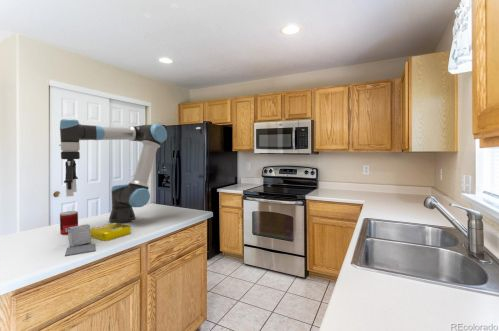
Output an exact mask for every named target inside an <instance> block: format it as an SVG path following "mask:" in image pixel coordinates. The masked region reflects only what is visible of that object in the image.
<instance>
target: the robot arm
mask: <svg viewBox="0 0 499 331" xmlns="http://www.w3.org/2000/svg"><path fill="white" fill-rule="evenodd" d="M59 133H60V137H59V138H60V144H59V145H58V146H59V147H60V151H61V152H60V159H61V160H66V161H65V180H64V181H63V183H65V193H66V194H65V196H66V197H67V198H68V197H74V193H77V180H78V178H79V177H78V176H77V163H76V160H79V159H80V158H81V155H80V147H81V146H80V141H107V140H110V141H112V140H114V141H118V140H119V141H120V140H122V141H123V140H124V141H125V140H128V141H130V142H141V143H142V148H141V151H140V155H139V158H138V161H137V162H138V163H137V166H136V168H135V172H134V175H133V178H132V181H129V182H128V183H126V184H119V185H118V184H116V185H113V186H112V187H111V211H110V214H109V218H108V222H109V224H111V223H120V224H124V223H130V222H134V221H135V220H136V214H135V211H134V209H133V208H142V207H144V206H146V205H147V204H148V203H149V201H150V198H151V194H150V191H149V188H150V187H149V185H148V182H149V178H150V176H151V175H150V174H151V172H152V168H153V164H154V161H155V157H156V154H157V151H158V149H159V148H160V147H161V146H162V143H163V142H165V141H166V140H167V138H168V132H167V130H166V128H165V127H164V125H162V124H159V123H153V124H141V125H132V126H131V125H130V126H128V127H113V126H110V127H109V126H108V127H107V126H99V125H91V124H82V123H81V124H80V122H79V120H78V119H72V118H62V119H60V122H59Z"/></svg>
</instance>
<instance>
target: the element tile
mask: <svg viewBox="0 0 499 331" xmlns="http://www.w3.org/2000/svg"><path fill="white" fill-rule="evenodd" d="M131 233H132V232H131V226H130V225H128V224H124V223H107V224H103V225H99V226H94V227H90V234H91V239H96V240H100V241H103V242H107V241H111V240H115V239H117V238H122V237H124V236H127V235H131Z"/></svg>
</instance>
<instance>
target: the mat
mask: <svg viewBox="0 0 499 331" xmlns="http://www.w3.org/2000/svg"><path fill="white" fill-rule="evenodd" d="M93 252H96V243H87V244H82V245H78V246H74V247H71V246H69V247H66V250H65V254H64V257H71V256H75V255H81V254H87V253H93Z"/></svg>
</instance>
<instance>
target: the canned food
mask: <svg viewBox="0 0 499 331" xmlns="http://www.w3.org/2000/svg"><path fill="white" fill-rule="evenodd" d="M75 226H79V213H78V211H77V210H70V211H69V210H68V211H67V210H66V211H63V212H61V213H59V227H60V228H59V229H60V234H61V235H63V236H65V235H68V228H70V227H75Z"/></svg>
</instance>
